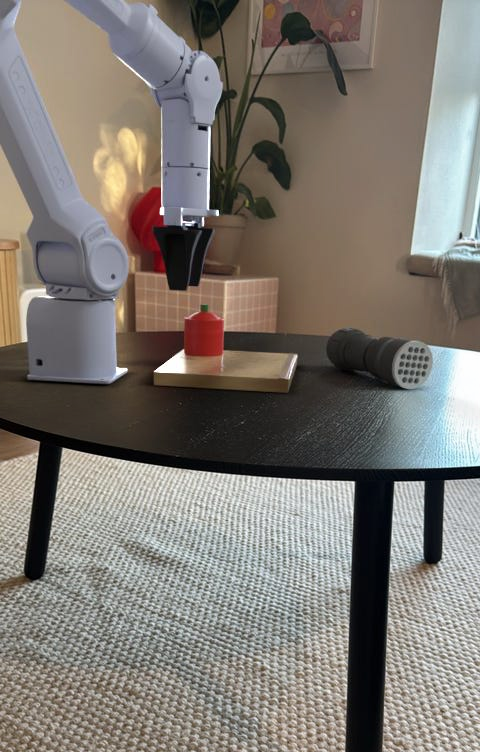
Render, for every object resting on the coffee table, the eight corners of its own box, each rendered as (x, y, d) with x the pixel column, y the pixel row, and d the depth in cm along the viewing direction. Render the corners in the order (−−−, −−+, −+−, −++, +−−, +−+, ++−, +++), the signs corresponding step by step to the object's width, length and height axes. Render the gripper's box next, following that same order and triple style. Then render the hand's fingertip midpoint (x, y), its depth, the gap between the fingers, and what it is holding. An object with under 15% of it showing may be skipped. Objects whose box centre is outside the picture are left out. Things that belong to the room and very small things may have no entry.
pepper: (180, 355, 94) (180, 305, 92) (187, 349, 99) (188, 301, 97) (220, 357, 94) (221, 307, 92) (226, 351, 99) (227, 303, 96)
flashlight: (320, 367, 98) (323, 325, 96) (355, 366, 100) (358, 324, 98) (392, 390, 85) (397, 342, 83) (429, 387, 88) (435, 340, 86)
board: (153, 385, 84) (153, 371, 83) (184, 359, 101) (184, 347, 100) (287, 393, 82) (288, 378, 82) (296, 365, 99) (297, 353, 98)
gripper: (208, 164, 82) (205, 293, 87) (228, 174, 96) (225, 285, 101) (145, 163, 83) (146, 291, 88) (173, 172, 97) (173, 283, 101)
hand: (184, 288), depth 94 cm, fingers open, 7 cm apart
